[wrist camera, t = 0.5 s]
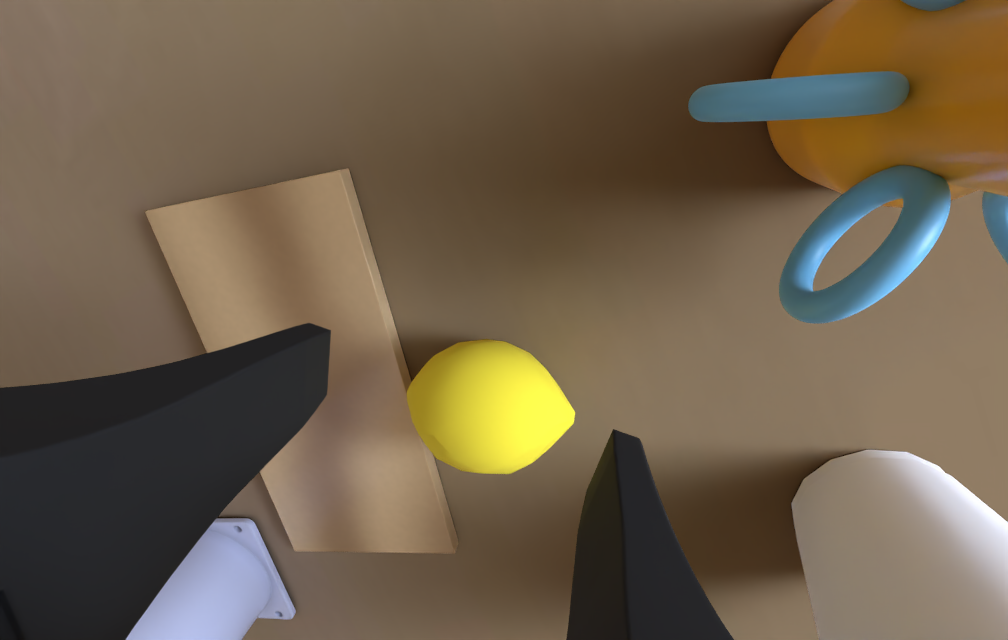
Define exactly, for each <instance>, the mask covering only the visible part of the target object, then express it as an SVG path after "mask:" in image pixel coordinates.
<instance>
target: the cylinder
mask: <svg viewBox="0 0 1008 640" xmlns="http://www.w3.org/2000/svg"><path fill="white" fill-rule="evenodd" d="M688 109H689V112H690V114H691V116H692V117H693V118H694V119H696V120H698V121H702V122H747V121H767V126H768V131H769V135H770V138H771V140H772V143H773V145H774V147H775V149H776V151H777V152H778V154H779V155H780V157H781V158H782V159H783V160H784V162H785V163H786V164H787V165H788V166H789V167H790V168H792V169H793V170H794V171H795V172H797V173H798V174H799V175H801V176H803V177H805V178H807V179H809V180H810V181H813V182H815V183H817V184H820V185H822V186H825V187H827V188H830V189H832V190H835V191H837V192H839V193H842V195H841V196H840V197H839V198H837V199H836V200H835V201H834V202H833V203H832V204H831V205H830V206H828V207H827V208H826V209H825V210H824V211H823V212H822V213H821V214H820V215H819V216H818V217H817V219H816V220H815V221H814V222H813V223H812V224H811V225H810V227H809V228H808V229H807V230H806V231H805V233H804V234H803V235H802V237H801V238H800V240H799V241H798V242H797V244H796V245H795V247H794V249H793V250H792V252H791V254H790V256H789V258H788V260H787V262H786V264H785V266H784V269H783V272H782V275H781V279H780V285H779V295H780V300H781V303H782V305H783V307H784V309H785V310H786V311H787V312H788V313H789V314H790V315H791V316H792V317H794V318H795V319H797V320H800V321H803V322H807V323H828V322H833V321H837V320H840V319H843V318H846V317H849V316H851V315H854V314H856V313H858V312H860V311H862V310H864V309H865V308H867V307H869V306H871V305H872V304H874V303H875V302H877V301H878V300H880V299H881V298H883V297H884V296H885V295H887V294H888V293H889V292H891V291H892V290H893V289H894V288H896V287H897V286H898V285H899V284H900V283H901V282H902V281H904V280H905V279H906V278H907V277H908V276H909V275H910V274H911V273H912V272H913V271H914V270H915V268H916V267H917V266H918V265H919V264H920V263H921V262H922V260H923V259H924V258H925V257H926V255H927V254H928V253H929V251H930V250H931V248H932V247H933V246H934V244H935V242H936V241H937V239H938V237H939V236H940V234H941V232H942V230H943V228H944V225H945V223H946V220H947V217H948V214H949V210H950V203H951V200H954V199H957V198H960V197H963V196H965V195H968V194H970V193H973V192H975V191H977V190H980V191H984V194H983V200H982V208H983V215H984V219H985V223H986V226H987V229H988V231H989V233H990V236H991V238H992V240H993V242H994V244H995V245H996V247H997V249H998V250H999V252H1000V254H1001V255H1002V257H1003V258H1004V260H1005V261H1006V262H1007V264H1008V0H834V1H832V2H830V3H829V4H827V5H826V6H824V7H823V8H822V9H820V10H819V11H818V12H817V13H816V14H814V15H813V16H812V17H811V18H810V19H809V20H808V21H807V22H806V23H805V24H804V25H803V26H802V27H801V28H800V29H799V30H798V31H797V33H796V34H795V35H794V36H793V38H792V39H791V40H790V42H789V43H788V44H787V46H786V48H785V49H784V51H783V52H782V54H781V56H780V58H779V60H778V62H777V64H776V66H775V69H774V71H773V74H772V77H771V79H764V80H753V81H742V82H732V83H722V84H714V85H707V86H703V87H700V88H699V89H697V90H696V91H695V92H694V93H693V94H692V95H691V97H690V100H689V103H688ZM879 206H887V207H903V208H902V211H901V214H900V217H899V219H898V221H897V223H896V224H895V226H894V228H893V229H892V231H891V232H890V234H889V235H888V237H887V238H886V239H885V241H884V242H883V243H882V244H881V246H880V247H879V248H878V249H877V250H876V251H875V252H874V253H873V255H872V256H871V257H870V258H869V259H868V260H867V261H865V262H864V263H863V264H862V265H861V266H860V267H859V268H858V269H856V270H855V271H854V272H853V273H851V274H850V275H849V276H847V277H846V278H844V279H843V280H841V281H840V282H838V283H836V284H834V285H832V286H830V287H828V288H826V289H823V290H820V291H813V288H812V286H813V280H814V276H815V274H816V271H817V269H818V267H819V265H820V263H821V262H822V260H823V258H824V257H825V255H826V254H827V252H828V251H829V250H830V248H831V247H832V246H833V245H834V244H835V242H836V241H837V240H838V239H839V238H840V237H841V236H842V235H843V234H844V233H845V232H846V231H847V230H848V229H849V228H850V227H851V226H852V225H853V224H855V223H856V222H857V221H858V220H859V219H861V218H862V217H863V216H865V215H866V214H868V213H869V212H871V211H872V210H874V209H876V208H877V207H879Z"/></svg>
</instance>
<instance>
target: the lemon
mask: <svg viewBox="0 0 1008 640" xmlns="http://www.w3.org/2000/svg"><path fill="white" fill-rule="evenodd" d="M407 403H408V406H409V410H410V414H411V418H412V422H413V424H414V426H415V428H416V430H417V432H418V434H419V436H420V437H421V438H422V440H423V442H424V443H425V445H426V446H427V447H428V448H429V450H430V451H431V452H432V453H433V455H434V456H435V457H436V458H437V459H439V460H441V461H443V462H445V463H447V464H449V465H451V466H453V467H455V468H457V469H459V470H461V471H466V472H475V473H487V474H511V473H513V472H515V471H517V470H519V469H521V468H523V467H525V466H527V465H529V464H531V463H533V462H534V461H535V460H537V459H538V458H539V457H540V456H541V455H542V454H543V453H545V452H546V451H547V450H548V449H549V448H550V447H551V446H552V445H553V444H554V443H555V442H556V441H557V440H558V439H559V438H560V437H561V436H562V435H563V434H564V433H565V432H566V431H567V430H568V429H569V428H570V427H571V426H572V425H573V424H574V419H575V411H574V410H573V408H572V407H571V405H570V403H569V402H568V400H567V398H566V397H565V395H564V394H563V392H562V390H561V389H560V387H559V386H558V384H557V383H556V382H555V380H554V379H553V378H552V376H551V375H550V374H549V372H548V371H547V370H546V368H545V367H544V366H543V365H541V364H540V363H539V362H538V361H537V360H536V359H535V358H534V357H533V356H532V355H531V354H530V353H529V352H527V351H525V350H522V349H520V348H518V347H516V346H514V345H512V344H509V343H507V342H504V341H496V340H489V339H483V340H474V341H466V342H459V343H457V344H455V345H453V346H451V347H449V348H447V349H445V350H444V351H442V352H440V353H438V354H436V355H434V356H433V357H432V358H431V359H430V360H429V361H428V362H427V363H426V364H425V365H424V366H423V368H422V369H421V370H420V372H419V373H418V374H417V376H416V377H415V378H414V380H413V381H412V382H411V384H410V386H409V388H408V390H407Z"/></svg>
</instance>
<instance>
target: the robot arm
mask: <svg viewBox="0 0 1008 640" xmlns="http://www.w3.org/2000/svg"><path fill="white" fill-rule="evenodd" d="M330 340H331V330H329V329H326V328H323V327H320V326H317V325H315V324H312V323H306V324H302V325H298V326H294V327H291V328H288V329H284V330H281V331H278V332H275V333H272V334H269V335H266V336H263V337H259V338H256V339H253V340H250V341H247V342H244V343H240V344H237V345H234V346H231V347H228V348H224V349H221V350H217V351H214V352H210V353H206V354H203V355H199V356H195V357H192V358H188V359H185V360H181V361H177V362H173V363H169V364H165V365H160V366H156V367H151V368H146V369H141V370H136V371H131V372H126V373H121V374H115V375H108V376H101V377H94V378H88V379H81V380H74V381H67V382H59V383H50V384H40V385H30V386H19V387H6V388H0V640H242V638H243V637H244V636H245V634H246V633H247V631H248V630H249V628H250V627H251V626H252V624H253V623H254V621H255V620H256V619H257V618H271V619H292V618H293V616H294V615H295V612H296V611H295V608H294V606H293V604H292V602H291V599H290V597H289V595H288V593H287V591H286V589H285V587H284V584H283V582H282V580H281V578H280V576H279V574H278V572H277V569H276V567H275V565H274V563H273V561H272V559H271V557H270V554H269V552H268V550H267V548H266V546H265V544H264V542H263V539H262V537H261V535H260V533H259V531H258V529H257V527H256V524H255V523H254V522H253V521H252V520H251V519H248V518H217V517H218V516H219V515H220V513H221V512H222V511H223V510H224V508H225V507H226V506H227V505H228V504H229V503H230V502H231V501H232V500H233V498H234V497H235V496H236V495H237V494H238V493H239V492H240V491H241V490H242V489H243V488H244V487H245V486H246V485H247V484H248V483H249V482H250V481H251V480H252V479H253V478H254V477H255V476H256V475H257V474H258V473H259V472H260V471H261V470H262V469H263V468H264V467H265V466H266V465H267V464H268V463H269V462H270V461H271V459H272V458H273V457H274V456H275V455H276V454H277V453H278V452H279V451H280V450H281V449H282V448H283V447H284V446H285V445H286V444H287V443H288V442H289V441H290V440H291V439H292V438H293V437H294V436H295V435H296V434H297V433H298V432H299V431H300V430H301V429H302V428H303V426H304V425H305V424H306V423H307V421H308V420H309V419H310V418H311V416H312V415H313V414H314V412H315V411H316V410H317V408H318V407H319V405H320V404H321V403H322V401H323V400H324V398H325V397H326V396H327V389H328V373H329V356H330ZM566 640H734V639H733V638H732V636H731V635H730V633H729V632H728V630H727V629H726V627H725V626H724V624H723V623H722V621H721V620H720V618H719V616H718V615H717V613H716V611H715V610H714V608H713V607H712V605H711V603H710V602H709V600H708V598H707V596H706V594H705V593H704V591H703V589H702V587H701V586H700V584H699V582H698V580H697V578H696V576H695V574H694V572H693V571H692V569H691V567H690V565H689V563H688V561H687V559H686V557H685V555H684V552H683V550H682V548H681V546H680V544H679V542H678V540H677V537H676V535H675V533H674V531H673V528H672V526H671V524H670V521H669V519H668V516H667V514H666V511H665V509H664V506H663V504H662V501H661V499H660V496H659V494H658V491H657V488H656V486H655V483H654V480H653V477H652V474H651V471H650V468H649V465H648V462H647V459H646V456H645V452H644V449H643V446H642V443H641V441H640V439H639V438H637V437H634V436H631V435H628V434H625V433H622V432H619V431H617V430H614V429H613V431H612V433H611V436H610V438H609V440H608V443H607V445H606V447H605V450H604V452H603V454H602V456H601V459H600V461H599V463H598V466H597V468H596V470H595V473H594V475H593V477H592V480H591V482H590V484H589V487H588V489H587V492H586V496H585V501H584V505H583V510H582V514H581V519H580V523H579V528H578V535H577V544H576V554H575V564H574V574H573V584H572V594H571V605H570V615H569V625H568V632H567V639H566Z"/></svg>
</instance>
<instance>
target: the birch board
mask: <svg viewBox="0 0 1008 640" xmlns="http://www.w3.org/2000/svg"><path fill="white" fill-rule="evenodd" d="M145 213H146V216H147V218H148V220H149V223H150V225H151V227H152V229H153V232H154V234H155V236H156V238H157V241H158V243H159V245H160V247H161V250H162V252H163V254H164V256H165V259H166V261H167V263H168V265H169V268H170V270H171V272H172V275H173V277H174V279H175V281H176V284H177V286H178V288H179V290H180V293H181V295H182V297H183V299H184V302H185V304H186V306H187V308H188V311H189V313H190V315H191V318H192V320H193V322H194V324H195V327H196V329H197V331H198V333H199V336H200V338H201V340H202V342H203V345H204V347H205V349H206V351H207V353H210V352H214V351H217V350H221V349H224V348H228V347H231V346H234V345H237V344H240V343H244V342H247V341H250V340H253V339H256V338H259V337H263V336H266V335H269V334H272V333H275V332H278V331H281V330H284V329H288V328H291V327H294V326H298V325H302V324H306V323H312V324H315V325H317V326H320V327H323V328H326V329H329V330H331V340H330V356H329V373H328V389H327V396H326V397H325V398H324V400H323V401H322V403H321V404H320V405H319V407H318V408H317V410H316V411H315V412H314V414H313V415H312V416H311V418H310V419H309V420H308V421H307V423H306V424H305V425H304V426H303V428H302V429H301V430H300V431H299V432H298V433H297V434H296V435H295V436H294V437H293V438H292V439H291V440H290V441H289V442H288V443H287V444H286V445H285V446H284V447H283V448H282V449H281V450H280V451H279V452H278V453H277V454H276V455H275V456H274V457H273V458H272V459H271V461H270V462H269V463H268V464H267V465H266V466H265V467H264V468H263V469H262V470H261V471H260V474H261V476H262V478H263V480H264V483H265V485H266V487H267V489H268V492H269V494H270V496H271V498H272V501H273V503H274V505H275V508H276V510H277V512H278V514H279V517H280V519H281V521H282V523H283V526H284V528H285V530H286V532H287V535H288V537H289V539H290V541H291V544H292V546H293V548H294V550H295V551H308V552H380V553H452V554H454V553H455V552H456V549H457V546H458V543H459V541H458V538H457V534H456V531H455V528H454V524H453V521H452V517H451V514H450V511H449V507H448V504H447V500H446V497H445V494H444V490H443V487H442V483H441V480H440V477H439V473H438V470H437V467H436V463H435V460H434V456H433V453H432V452H431V451H430V450H429V448H428V447H427V446H426V445H425V443H424V442H423V440H422V438H421V437H420V436H419V434H418V432H417V430H416V428H415V426H414V424H413V422H412V418H411V414H410V410H409V406H408V403H407V390H408V388H409V386H410V384H411V378H410V375H409V372H408V368H407V365H406V361H405V358H404V355H403V351H402V348H401V344H400V341H399V338H398V334H397V331H396V327H395V324H394V321H393V317H392V314H391V310H390V307H389V304H388V300H387V297H386V293H385V290H384V287H383V283H382V280H381V276H380V273H379V270H378V266H377V263H376V260H375V256H374V253H373V249H372V246H371V243H370V239H369V236H368V232H367V229H366V226H365V222H364V219H363V215H362V212H361V209H360V205H359V202H358V198H357V195H356V192H355V188H354V185H353V181H352V178H351V175H350V171H349V169H348V168H346V169H341V170H336V171H331V172H327V173H322V174H317V175H312V176H308V177H303V178H298V179H293V180H288V181H284V182H279V183H274V184H269V185H265V186H260V187H255V188H250V189H246V190H241V191H236V192H231V193H227V194H222V195H217V196H212V197H207V198H203V199H198V200H193V201H188V202H184V203H179V204H174V205H169V206H165V207H160V208H155V209H151V210H146V211H145Z"/></svg>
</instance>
